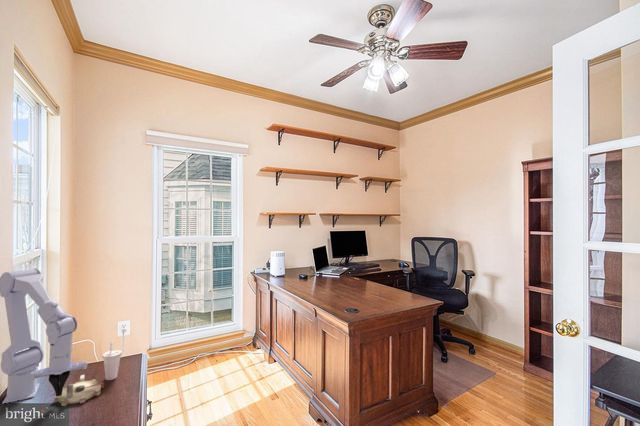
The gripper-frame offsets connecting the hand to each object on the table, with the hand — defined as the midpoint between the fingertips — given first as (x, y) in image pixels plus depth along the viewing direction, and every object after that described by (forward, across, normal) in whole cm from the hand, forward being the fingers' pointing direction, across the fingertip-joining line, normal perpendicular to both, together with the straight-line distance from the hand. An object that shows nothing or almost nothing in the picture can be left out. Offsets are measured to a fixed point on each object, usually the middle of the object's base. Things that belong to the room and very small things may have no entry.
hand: (59, 394), depth 102 cm
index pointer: (+3, +5, +13) cm, 14 cm away
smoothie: (+4, +15, +12) cm, 19 cm away
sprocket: (+3, +5, +4) cm, 7 cm away
